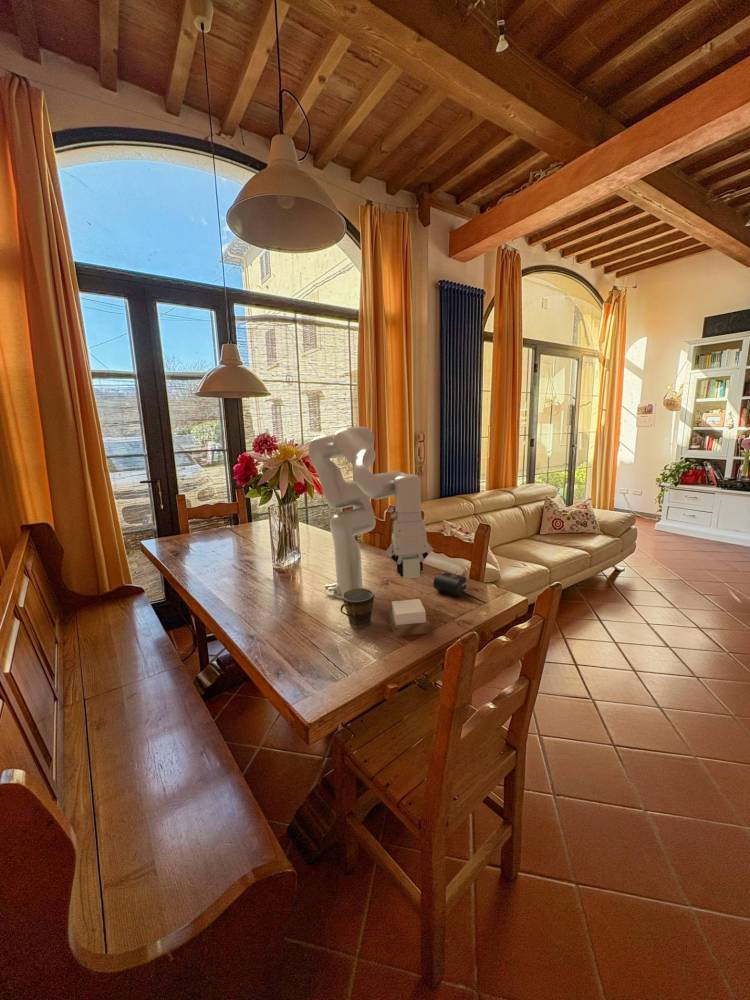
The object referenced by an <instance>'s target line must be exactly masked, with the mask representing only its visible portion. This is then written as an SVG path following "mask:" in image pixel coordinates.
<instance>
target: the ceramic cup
mask: <svg viewBox="0 0 750 1000" xmlns="http://www.w3.org/2000/svg"><path fill="white" fill-rule="evenodd" d="M374 597H375V593H374V591H372V590H371V589H368V588H367V589H365V588H356V589H351V590H348V591H346V592H345V593H344V594H343V595H342V598H343V600H342V601H343V603H342V604H341V606H340V613H341V614H343V615H345V616H346V617H347V619H348V622H349V627H351V628H352V629H356V630H359V629H360V630H361V629H365V628H367V627H369V626H370V625H371V622H372V621H371V620H372V613H373V607H374ZM344 608H345V611H346V612H344V611H343V609H344Z"/></svg>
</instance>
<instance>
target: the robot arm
mask: <svg viewBox="0 0 750 1000" xmlns="http://www.w3.org/2000/svg"><path fill="white" fill-rule="evenodd" d="M374 444H375V436H374V433H373V431H372V430H371V429H370V428H368V427H366V426H351V427H350V426H349V427H342V428H340V429H338V430H337V431H336V432H334V434H324V435H318V436H316V437H314V438H312V439H311V441H310V442H309V444H308V457H309V460H310V462H311V465H312V467H313V469H314V470H315V472H316V474H317V476H318V479H319V482H320V485H321V489H322V492H323V495H324V497H325V501H326V504H327V505H328V506H327V507H329V508H330V509H331V510H338V509H339V510H340V509H346V508H349V507H352V508H353V509H348V510H347V509H346V510H344V511H343V510H342V511H340V512H337V513H335V514H333V515H332V516H331V517H330V520H329V527H330V528H329V529H330V532H331V535H332V536H331V537H332V540H333V547H334V548H333V549H334V561H335V573H336V580H335V582H334V583H332V584H330V583H329V584H328V583H327V584H324V589H325V591H327V590H328V592H333V596H334V597H335V598H337V599H338V600H342V601H343V598H342V595H343V594H344V593H345V592H346V591H348V590H351V589H356V588H365V589H368V588H367V586H365V585H364V584H363V571H362V557H361V554H362V553H361V546H360V544H359V542H358V541H357V540H356V538H355V536H358V535H361V534H365V533H369V532H371V531H372V530H374V529H375V527H376V522H377V521H376V520H377V519H376V515H375V512H374V508H373V507H372V502H371V499H372V500H382V499H387V498H390V497H391V498H392V497H394V503H395V504H394V507H395V510H394V512H393V513H390V519H394V520H393V523H392V524H393V525H392V531H391V533H392V534H391V543H390V545H388V547H387V549H386V550H385V552H384V553H385V556H387V557H389V558H390V559H392V560H393V561H394V562H395V563H396V572H397V574H398V575H399V576H400V577H401V578H403V564H402V557H403V556H405V555H416V554H417V556H418V557H419V558H420V576H421V575H422V571H424V569H423V567H424V566H423V563H424V562H425V560H426V558H427V557H428V556H429V554H431V553H432V552H433V551H434V548H433V547H432V546H431V544H429V542H428V537H427V529H426V524H425V523H426V522H425V520H424V519H422V501H421V500H422V497H421V496H422V495H421V478H420V477H419V475H417V474H413V473H405V472H403V471H398V470H397V471H388V472H381V473H373V472H371V471H370V470H369V468H370V467H371V466H372V465H373V464H374V462H375V461H376V456H377V454H376V451H375V449H374V448H373V447H374ZM344 457H345V458H346V459H347V461H348V462H349V463H350V464H351V465H352V466H353V467H352V474H353V476H352V477H353V479H354V480H349V481H346V480H345V479H344V477H343V474H342V470H341V468H339V466H338V465H337V464H336V463H335V462H334V461H332V460H331V459H334V458H344Z"/></svg>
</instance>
